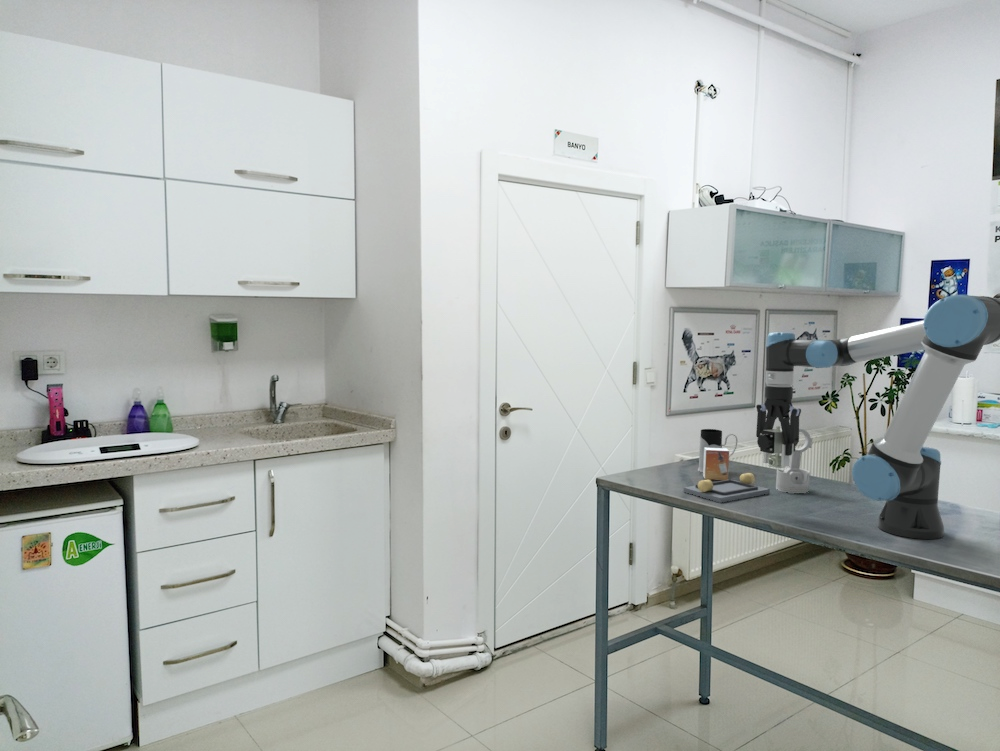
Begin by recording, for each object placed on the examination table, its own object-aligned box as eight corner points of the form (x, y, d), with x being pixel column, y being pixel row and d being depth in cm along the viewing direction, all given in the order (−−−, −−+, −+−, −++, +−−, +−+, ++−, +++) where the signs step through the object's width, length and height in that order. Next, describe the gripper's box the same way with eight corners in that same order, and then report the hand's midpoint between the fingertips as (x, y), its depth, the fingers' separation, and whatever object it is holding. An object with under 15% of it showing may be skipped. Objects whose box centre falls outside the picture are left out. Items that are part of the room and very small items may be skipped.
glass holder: (694, 468, 261) (695, 428, 260) (731, 468, 262) (732, 428, 261) (702, 473, 252) (703, 432, 251) (740, 473, 253) (742, 432, 252)
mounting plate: (731, 483, 237) (732, 468, 237) (769, 493, 224) (770, 477, 224) (683, 492, 225) (683, 475, 225) (720, 502, 212) (720, 485, 212)
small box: (704, 479, 243) (705, 449, 242) (702, 476, 248) (703, 446, 248) (728, 480, 242) (729, 450, 241) (726, 477, 247) (727, 447, 246)
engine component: (770, 486, 235) (783, 493, 225) (773, 425, 233) (786, 430, 223) (802, 486, 235) (817, 493, 225) (805, 426, 233) (820, 430, 223)
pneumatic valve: (798, 467, 205) (799, 426, 204) (768, 470, 200) (769, 428, 199) (783, 463, 210) (784, 424, 209) (753, 466, 205) (754, 426, 204)
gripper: (744, 383, 209) (741, 460, 211) (798, 388, 193) (795, 471, 195) (760, 382, 213) (758, 457, 215) (815, 387, 197) (812, 468, 199)
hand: (776, 464), depth 205 cm, fingers closed on pneumatic valve, 5 cm apart
